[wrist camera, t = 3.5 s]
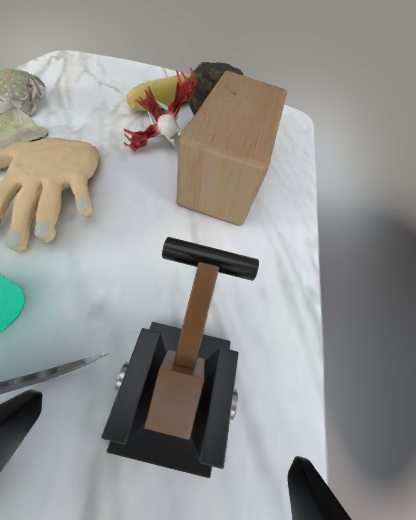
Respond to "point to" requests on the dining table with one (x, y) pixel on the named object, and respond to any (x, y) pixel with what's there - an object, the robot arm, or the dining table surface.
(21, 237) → the hand model
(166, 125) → the figurine
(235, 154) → the wooden block
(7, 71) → the decorative insect model
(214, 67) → the rock
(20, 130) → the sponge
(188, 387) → the lever
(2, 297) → the candle
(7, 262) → the dining table surface
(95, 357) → the knife
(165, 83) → the bullet
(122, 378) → the bracket
